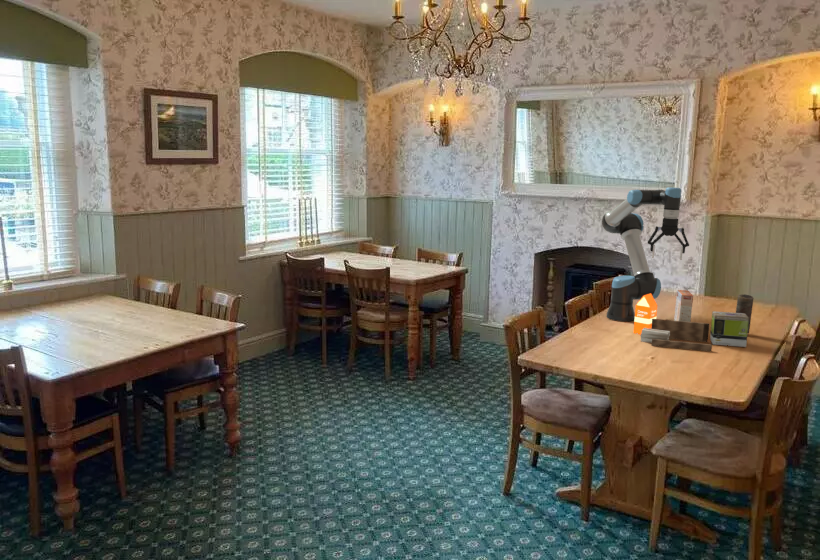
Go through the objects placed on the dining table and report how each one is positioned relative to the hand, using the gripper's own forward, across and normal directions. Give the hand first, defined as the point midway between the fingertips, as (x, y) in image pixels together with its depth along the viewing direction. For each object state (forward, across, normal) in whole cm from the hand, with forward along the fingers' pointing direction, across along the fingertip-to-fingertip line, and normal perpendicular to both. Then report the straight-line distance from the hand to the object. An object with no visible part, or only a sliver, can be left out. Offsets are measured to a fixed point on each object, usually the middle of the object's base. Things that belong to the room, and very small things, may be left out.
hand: (666, 258), depth 349 cm
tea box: (+36, +29, -26) cm, 53 cm away
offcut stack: (+36, -4, -36) cm, 51 cm away
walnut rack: (+35, +7, -34) cm, 50 cm away
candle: (+36, +39, -3) cm, 53 cm away
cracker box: (+36, +10, -10) cm, 39 cm away
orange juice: (+36, -8, -19) cm, 42 cm away
